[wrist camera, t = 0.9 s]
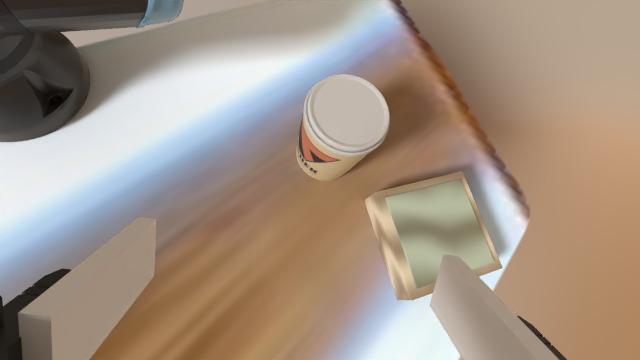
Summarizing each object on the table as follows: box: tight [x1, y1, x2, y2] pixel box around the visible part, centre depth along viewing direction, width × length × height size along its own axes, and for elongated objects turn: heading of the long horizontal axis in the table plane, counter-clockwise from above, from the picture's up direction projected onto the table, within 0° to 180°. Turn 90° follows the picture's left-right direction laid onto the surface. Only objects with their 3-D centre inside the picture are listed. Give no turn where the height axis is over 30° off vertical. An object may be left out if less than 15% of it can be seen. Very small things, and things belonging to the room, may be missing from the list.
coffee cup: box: [296, 74, 390, 181], centre depth 41 cm, size 9×9×12 cm
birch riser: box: [365, 171, 502, 300], centre depth 44 cm, size 13×13×4 cm
